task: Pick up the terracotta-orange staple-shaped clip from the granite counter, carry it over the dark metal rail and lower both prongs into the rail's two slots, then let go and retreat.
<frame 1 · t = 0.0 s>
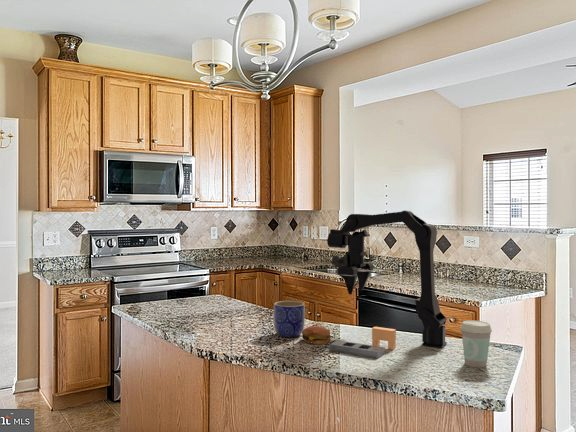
hand: (355, 292, 183), 15 cm above the counter, fingers open, 9 cm apart
burger: (316, 342, 173), on the counter
rail: (356, 352, 159), on the counter
coffee cup: (475, 365, 148), on the counter
planter: (289, 335, 180), on the counter
clip: (383, 347, 165), on the counter
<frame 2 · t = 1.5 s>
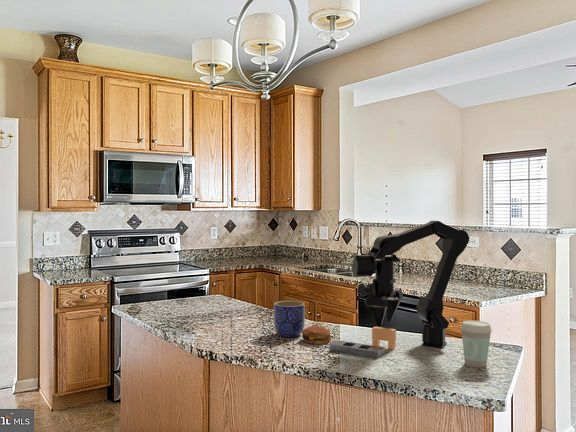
hand: (384, 323, 165), 8 cm above the counter, fingers open, 9 cm apart
nothing on the counter moved.
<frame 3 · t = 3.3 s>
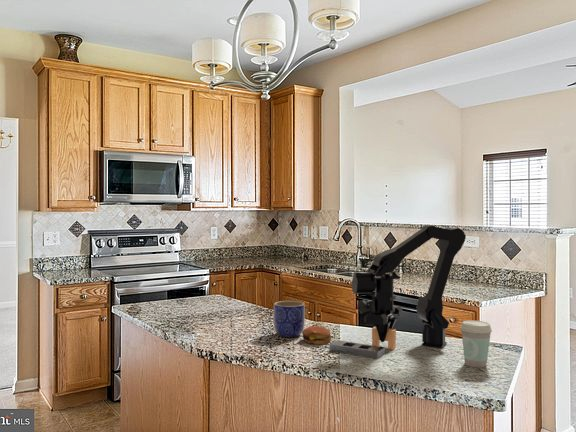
hand: (383, 341, 165), 2 cm above the counter, fingers closed on clip, 2 cm apart
clip: (383, 347, 165), on the counter, touching gripper
everything else where it was.
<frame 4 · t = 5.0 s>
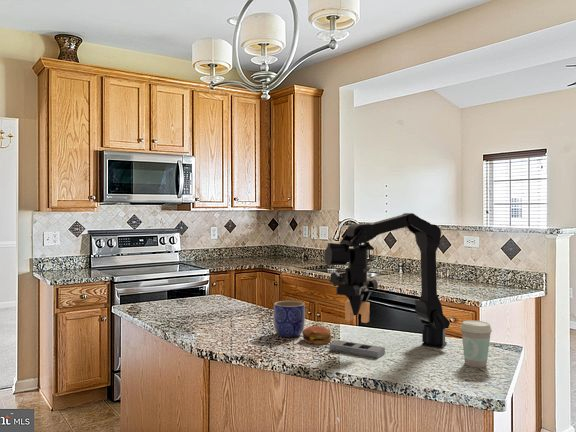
hand: (357, 314, 159), 12 cm above the counter, fingers closed on clip, 2 cm apart
clip: (357, 320, 159), point 10 cm above the counter, touching gripper
everything else where it was.
when the fingers open (3 cm above the counter, at t = 6.8 s): clip drops 1 cm, on the counter.
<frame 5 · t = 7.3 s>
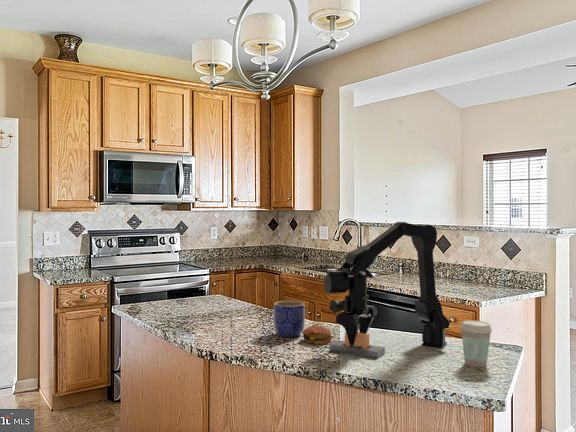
hand: (357, 341, 159), 3 cm above the counter, fingers open, 8 cm apart
clip: (356, 352, 159), on the counter
everything else where it was.
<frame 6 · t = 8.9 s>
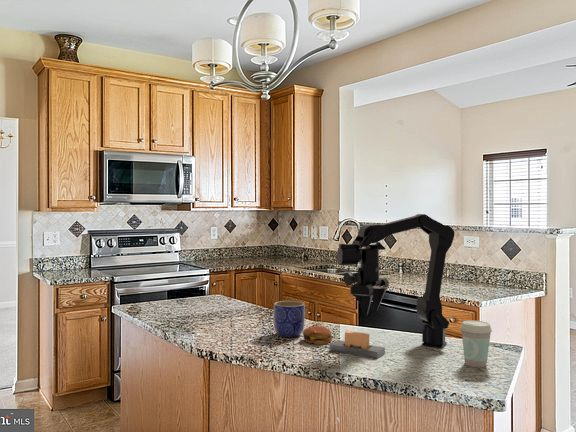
hand: (370, 312, 164), 11 cm above the counter, fingers open, 9 cm apart
nothing on the counter moved.
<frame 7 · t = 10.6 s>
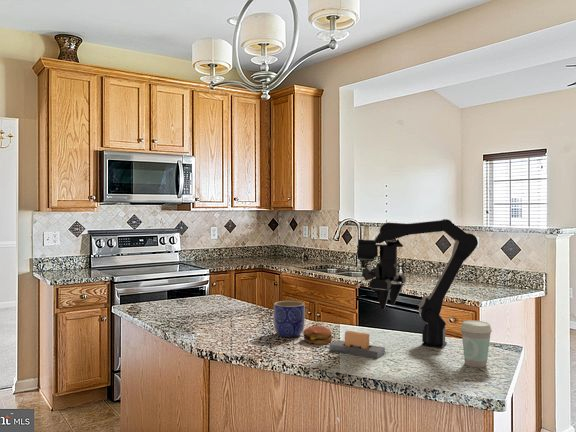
hand: (387, 306, 171), 12 cm above the counter, fingers open, 9 cm apart
nothing on the counter moved.
at the end: clip 0.0 cm off-centre on the rail, point 0.0 cm above the rail's base; clip tilted 0°; the gripper is holding nothing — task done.
